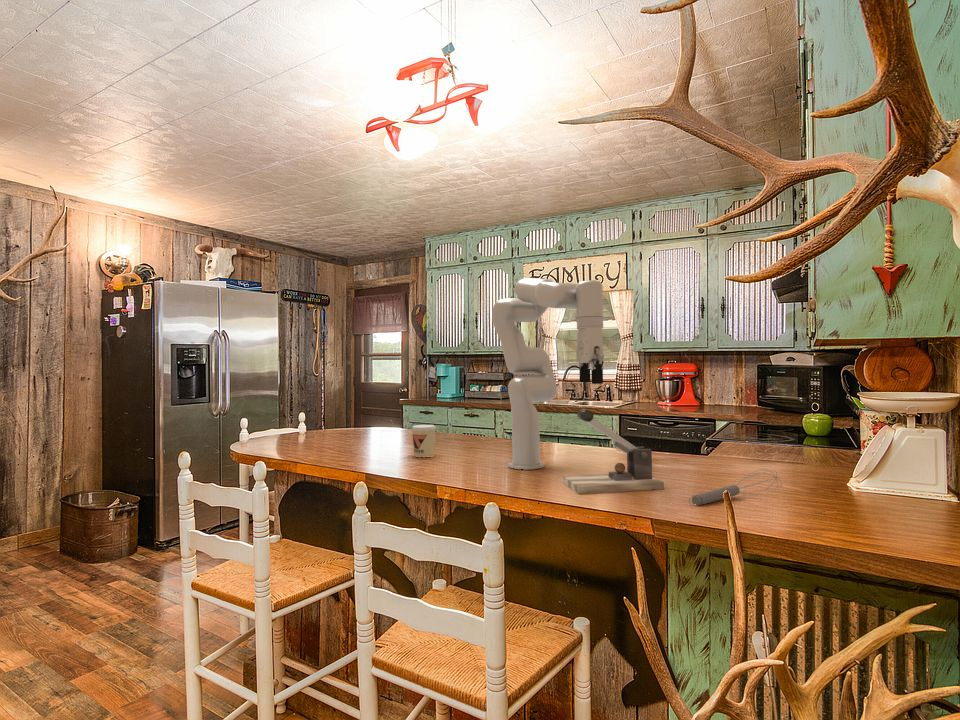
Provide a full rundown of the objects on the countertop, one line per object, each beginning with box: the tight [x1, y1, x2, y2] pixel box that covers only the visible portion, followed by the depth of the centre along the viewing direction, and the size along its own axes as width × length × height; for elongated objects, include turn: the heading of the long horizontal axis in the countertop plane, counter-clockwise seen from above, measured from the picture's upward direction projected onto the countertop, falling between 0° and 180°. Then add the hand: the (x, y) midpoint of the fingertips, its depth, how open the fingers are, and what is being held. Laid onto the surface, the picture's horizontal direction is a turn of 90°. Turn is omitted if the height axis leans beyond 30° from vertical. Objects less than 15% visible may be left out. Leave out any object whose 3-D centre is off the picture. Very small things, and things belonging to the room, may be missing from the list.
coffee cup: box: [411, 424, 437, 457], centre depth 214 cm, size 9×9×12 cm
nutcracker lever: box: [576, 408, 639, 455], centre depth 158 cm, size 5×23×4 cm
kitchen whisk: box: [688, 468, 783, 507], centre depth 142 cm, size 6×34×6 cm, turn 117°
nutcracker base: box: [562, 446, 665, 495], centre depth 158 cm, size 14×25×10 cm, turn 98°
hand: (591, 382), depth 157 cm, fingers open, 9 cm apart
